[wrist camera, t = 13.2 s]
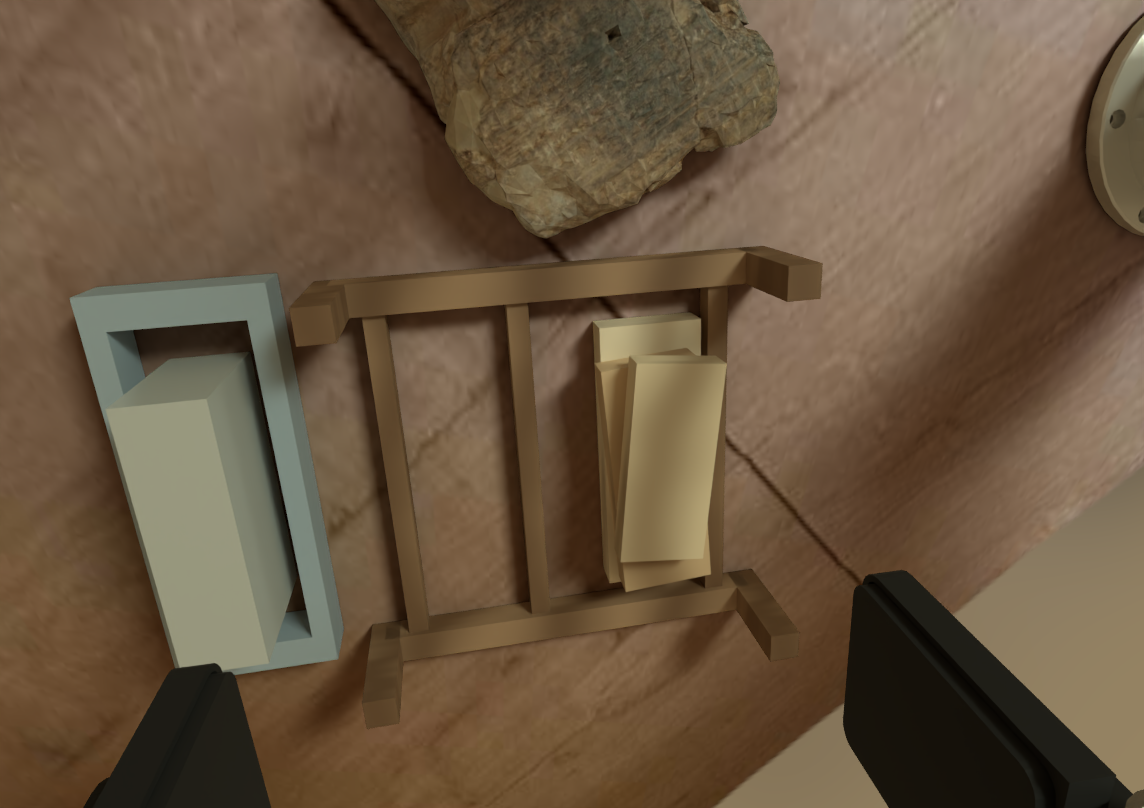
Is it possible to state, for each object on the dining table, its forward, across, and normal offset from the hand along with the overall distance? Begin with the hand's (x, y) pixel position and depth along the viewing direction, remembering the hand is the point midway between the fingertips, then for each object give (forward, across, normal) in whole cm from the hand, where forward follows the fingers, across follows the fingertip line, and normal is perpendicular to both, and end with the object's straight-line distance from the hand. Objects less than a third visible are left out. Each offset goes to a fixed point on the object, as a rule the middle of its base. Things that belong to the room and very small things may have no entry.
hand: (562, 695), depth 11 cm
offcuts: (+26, -7, +8) cm, 28 cm away
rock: (+27, -3, -14) cm, 30 cm away
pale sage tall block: (+25, +13, +6) cm, 29 cm away
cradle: (+25, +13, +7) cm, 29 cm away
